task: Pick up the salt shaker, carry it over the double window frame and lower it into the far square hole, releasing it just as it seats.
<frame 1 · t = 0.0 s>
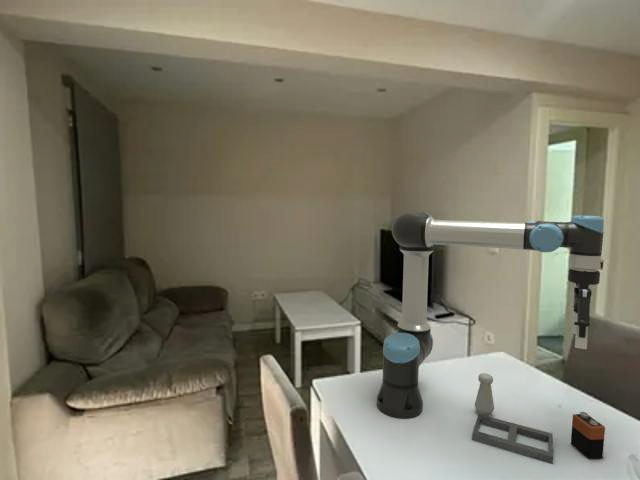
hand: (578, 340, 113), 28 cm above the table, fingers open, 13 cm apart
salt shaker: (483, 414, 125), on the table
battery: (586, 452, 106), on the table
double window frame: (512, 440, 111), on the table
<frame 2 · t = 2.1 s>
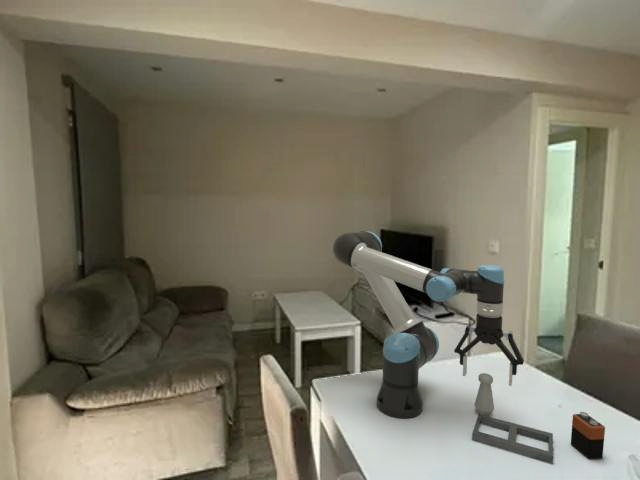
hand: (486, 379, 124), 12 cm above the table, fingers open, 13 cm apart
nothing on the table moved.
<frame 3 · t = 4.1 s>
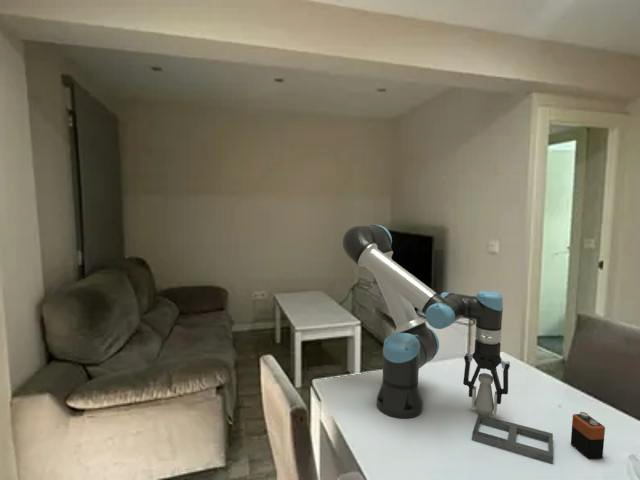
hand: (484, 409, 125), 1 cm above the table, fingers closed on salt shaker, 6 cm apart
salt shaker: (483, 414, 125), on the table, touching gripper
everything else where it was.
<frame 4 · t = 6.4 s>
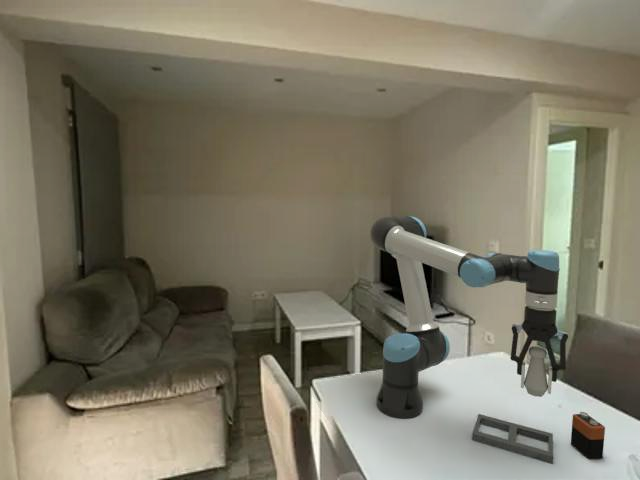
hand: (535, 388, 107), 17 cm above the table, fingers closed on salt shaker, 6 cm apart
salt shaker: (535, 393, 107), point 15 cm above the table, touching gripper
everything else where it was.
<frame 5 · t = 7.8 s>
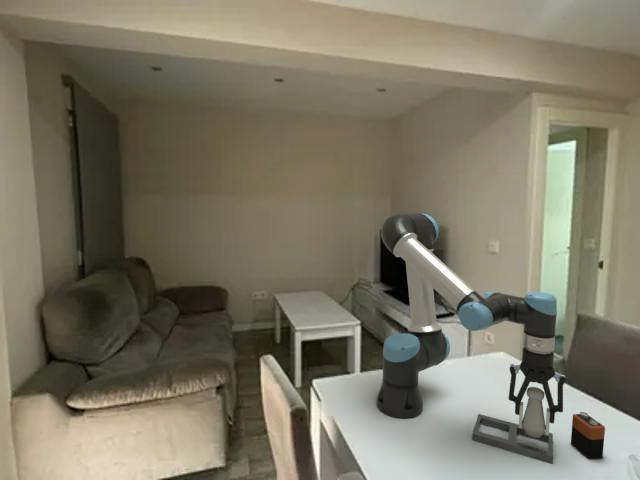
hand: (533, 429, 108), 5 cm above the table, fingers closed on salt shaker, 6 cm apart
salt shaker: (533, 434, 108), point 3 cm above the table, touching gripper
everything else where it was.
when the fingers open (3 cm above the table, at t = 8.8 s): salt shaker drops 2 cm, resting in double window frame.
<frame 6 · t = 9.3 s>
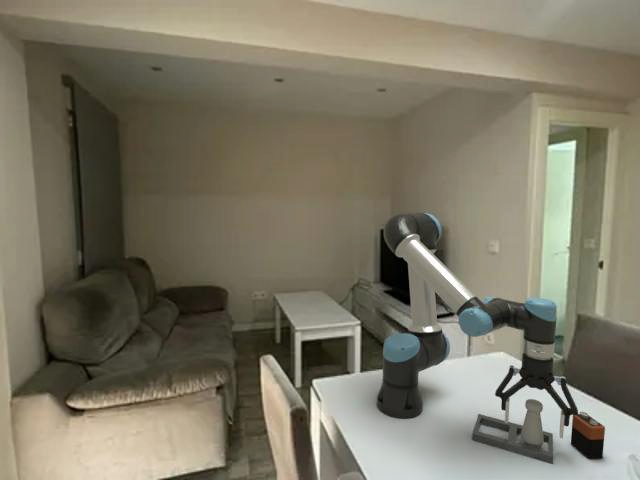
hand: (533, 428, 108), 5 cm above the table, fingers open, 13 cm apart
salt shaker: (531, 446, 109), resting in double window frame
everything else where it was.
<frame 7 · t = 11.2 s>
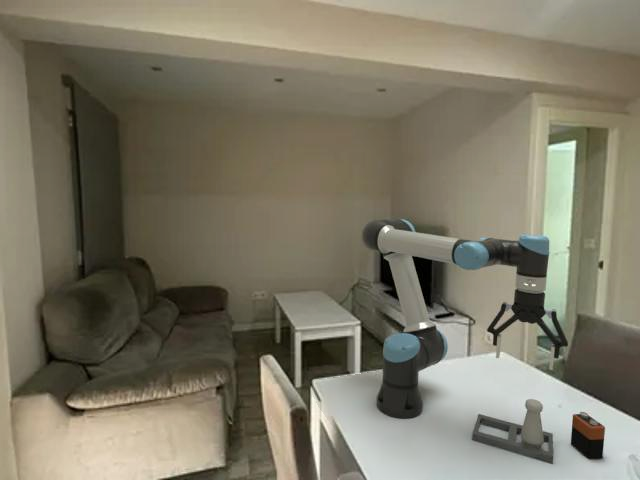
hand: (523, 362, 111), 23 cm above the table, fingers open, 13 cm apart
nothing on the table moved.
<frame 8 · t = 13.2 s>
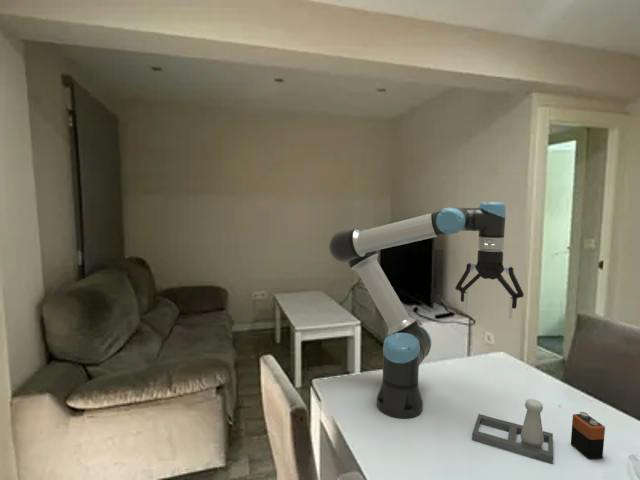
hand: (487, 314, 126), 32 cm above the table, fingers open, 13 cm apart
nothing on the table moved.
at the end: salt shaker 0.1 cm from the target spot on the double window frame, point 0.0 cm above the double window frame's base; salt shaker tilted 0°; the gripper is holding nothing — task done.
